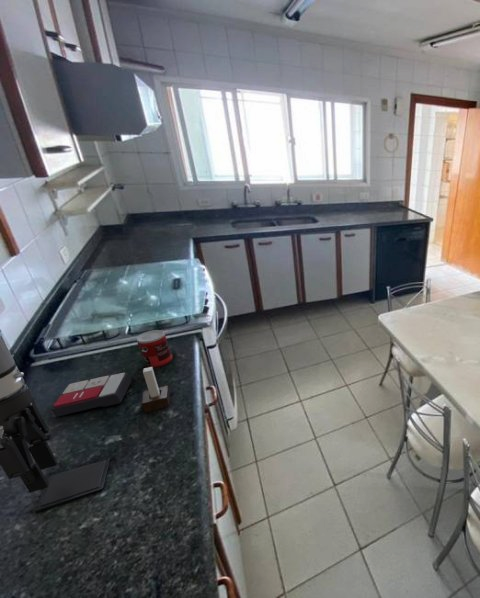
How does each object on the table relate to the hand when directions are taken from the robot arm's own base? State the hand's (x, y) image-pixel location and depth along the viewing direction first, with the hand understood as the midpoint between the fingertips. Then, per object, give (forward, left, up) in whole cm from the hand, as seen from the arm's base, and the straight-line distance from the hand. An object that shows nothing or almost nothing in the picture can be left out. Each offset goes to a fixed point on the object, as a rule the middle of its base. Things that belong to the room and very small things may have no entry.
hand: (44, 477), depth 71 cm
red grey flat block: (+2, +32, -5) cm, 33 cm away
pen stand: (+18, +22, -5) cm, 29 cm away
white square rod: (+18, +22, -5) cm, 29 cm away
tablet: (+4, 0, -5) cm, 6 cm away
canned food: (+17, +46, -5) cm, 49 cm away
